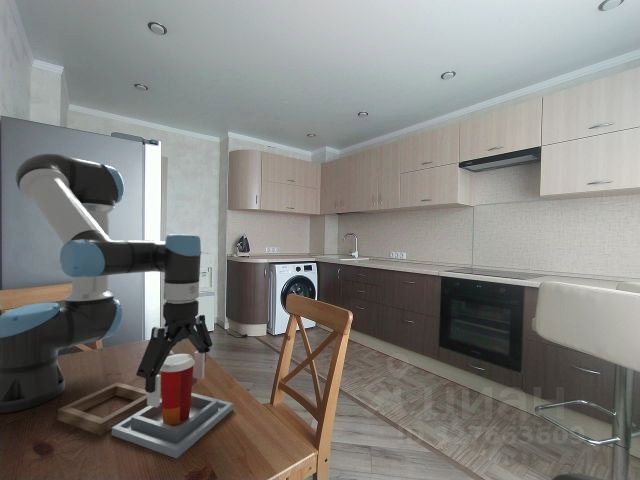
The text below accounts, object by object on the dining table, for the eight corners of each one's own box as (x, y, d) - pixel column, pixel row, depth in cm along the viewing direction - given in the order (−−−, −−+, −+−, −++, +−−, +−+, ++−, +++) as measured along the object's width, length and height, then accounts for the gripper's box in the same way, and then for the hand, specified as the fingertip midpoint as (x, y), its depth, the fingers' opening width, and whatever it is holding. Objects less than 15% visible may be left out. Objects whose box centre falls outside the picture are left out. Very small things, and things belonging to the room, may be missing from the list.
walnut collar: (57, 419, 68) (58, 409, 68) (117, 391, 81) (117, 382, 81) (100, 435, 64) (100, 423, 64) (155, 402, 77) (156, 392, 77)
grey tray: (111, 435, 64) (112, 420, 64) (177, 394, 81) (177, 383, 81) (176, 458, 58) (177, 442, 58) (232, 409, 75) (233, 397, 75)
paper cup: (188, 405, 75) (189, 350, 75) (198, 420, 69) (199, 360, 69) (153, 417, 70) (154, 357, 70) (160, 434, 64) (161, 369, 64)
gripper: (146, 313, 56) (142, 425, 56) (228, 293, 80) (225, 371, 80) (118, 309, 59) (114, 415, 59) (205, 290, 82) (202, 366, 82)
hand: (178, 390), depth 69 cm, fingers open, 13 cm apart
